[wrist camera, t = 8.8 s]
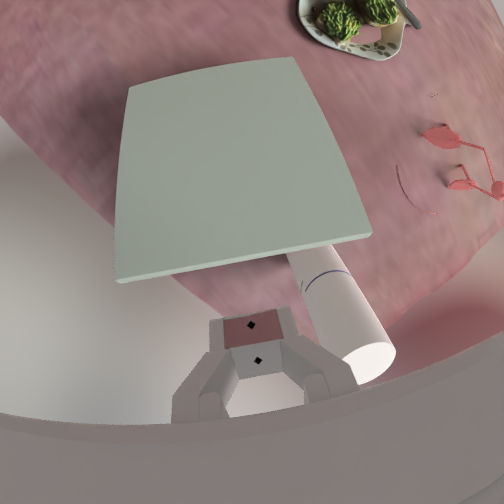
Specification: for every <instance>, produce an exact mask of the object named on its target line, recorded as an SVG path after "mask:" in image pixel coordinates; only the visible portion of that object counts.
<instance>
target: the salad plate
mask: <svg viewBox="0 0 504 504" xmlns="http://www.w3.org/2000/svg"><path fill="white" fill-rule="evenodd" d="M314 7H315V8H316V10H314ZM296 16H297V19H298V21H299V23H300V24H301V26H302V27H303V28H304V30H305V31H306V32H307V33H308V34H309V35H310V36H311V37H312V38H313V39H315V40H316V41H317V42H319V43H321V44H323V45H325V46H327V47H329V48H332V49H335V50H341V51H345V52H348V53H351V54H354V55H357V56H360V57H364V58H367V59H371V60H375V61H382V60H388V59H389V58H391V57H393V56H395V55H396V54H397V53H398V52H399V49H400V47H401V42H402V36H403V29H404V26H405V25H406V24H409V25H411V26H412V27H414V28H415V29H417V30H418V29H421V28H422V24H421V23H420V21H419V20H418V19H417V18H416V17H415V16H414V15H413V14H412V12H411V11H410V10H409V9H408V8H407V7H406V0H297V3H296ZM362 23H368V24H369V25H371V26H373V27H377V28H381V39H380V40H378V41H376V42H374V43H370V44H357V43H352V42H348V41H350V40H351V38H352V37H353V35H358V34H359V31H358V29H359V28H361V27H362Z"/></svg>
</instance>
